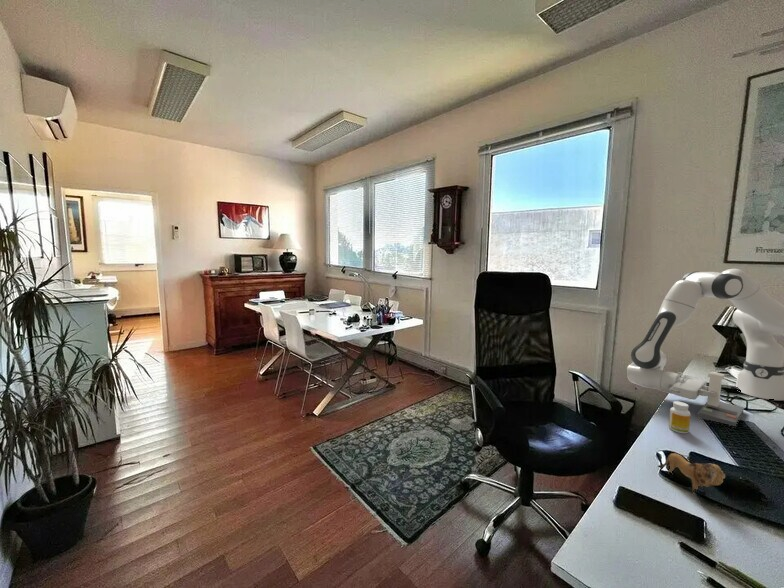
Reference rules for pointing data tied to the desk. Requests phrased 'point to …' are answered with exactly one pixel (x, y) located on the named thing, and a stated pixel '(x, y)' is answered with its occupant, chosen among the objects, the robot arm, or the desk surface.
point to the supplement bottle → (679, 417)
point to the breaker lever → (714, 388)
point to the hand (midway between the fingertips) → (717, 393)
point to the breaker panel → (722, 413)
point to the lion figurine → (696, 471)
